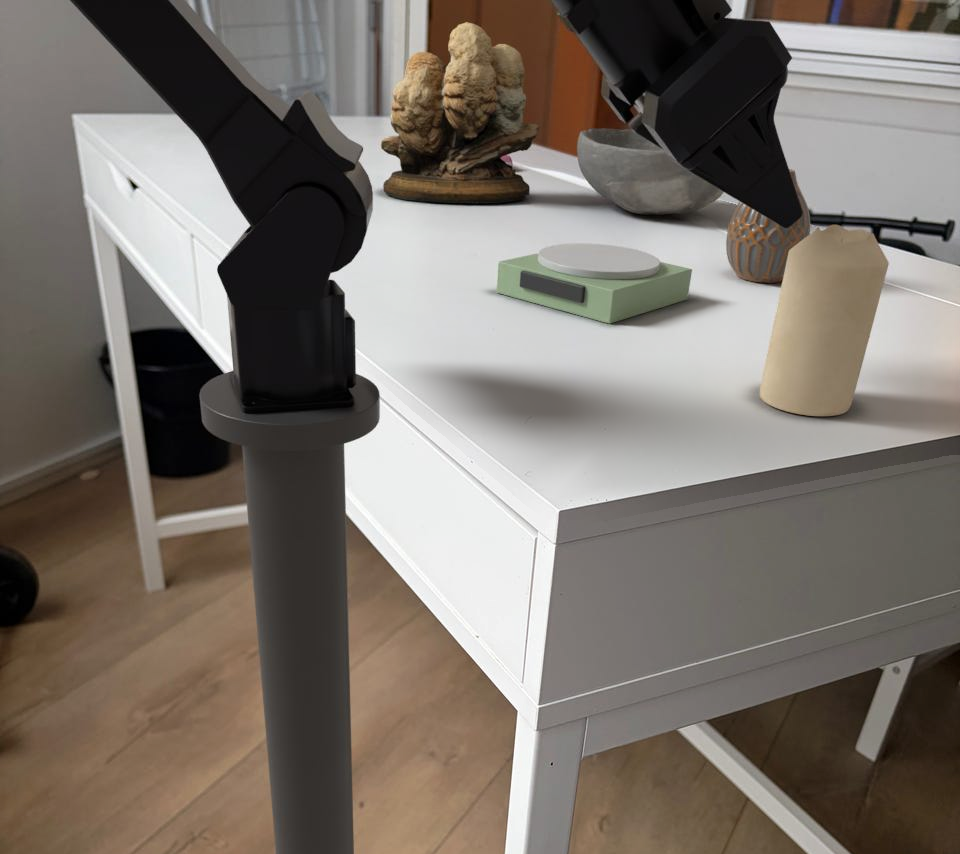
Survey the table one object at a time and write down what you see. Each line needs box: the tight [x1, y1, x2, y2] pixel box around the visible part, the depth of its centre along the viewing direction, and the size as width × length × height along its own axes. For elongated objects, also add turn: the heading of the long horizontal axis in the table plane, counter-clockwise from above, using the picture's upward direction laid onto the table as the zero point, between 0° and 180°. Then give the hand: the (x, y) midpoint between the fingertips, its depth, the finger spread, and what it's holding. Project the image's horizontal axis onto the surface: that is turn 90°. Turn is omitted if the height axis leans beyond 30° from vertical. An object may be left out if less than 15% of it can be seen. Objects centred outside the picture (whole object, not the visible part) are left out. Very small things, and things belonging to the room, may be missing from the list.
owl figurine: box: [380, 21, 541, 204], centre depth 111 cm, size 18×12×17 cm, turn 105°
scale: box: [496, 242, 693, 325], centre depth 79 cm, size 11×11×3 cm
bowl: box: [576, 127, 725, 216], centre depth 110 cm, size 18×18×8 cm
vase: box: [725, 168, 811, 284], centre depth 86 cm, size 7×7×9 cm
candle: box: [759, 224, 890, 417], centre depth 59 cm, size 6×6×10 cm
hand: (769, 205), depth 55 cm, fingers open, 9 cm apart
